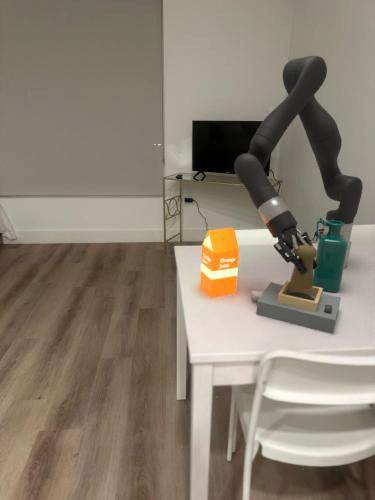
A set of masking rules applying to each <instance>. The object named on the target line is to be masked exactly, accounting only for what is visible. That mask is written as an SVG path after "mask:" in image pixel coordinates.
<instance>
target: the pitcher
mask: <svg viewBox="0 0 375 500" xmlns="http://www.w3.org/2000/svg"><path fill="white" fill-rule="evenodd" d="M319 224H321V225H322V226H323V227H325V226H327V227H329V229H328V233H324V232H323V233H320V231H319ZM344 225H345V223H343V222H341V221H335V220H330V221H327V222H325V219H323V218H322V217H317V218H316V236H317V238H318V239H317V244H316V251H317V254H316V257H315V258H314V259H315V260H316V262H317V264H318V267H317V268H315V269H313V286H315V287H320V288H323V290H322V292H329V293H337V292H339V291H340V290H341V284H342V278H343V273H344V269H345V268H344V264H345V258H346V253H347V248H348V243H347V239H346V237H345V236H343V235H341V227H342V226H344Z"/></svg>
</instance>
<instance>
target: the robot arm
mask: <svg viewBox="0 0 375 500" xmlns="http://www.w3.org/2000/svg"><path fill="white" fill-rule="evenodd" d="M327 74H328V67H327V63H326V60H325V59H324V58H323V57H322V56H319V55H309V56H303V57H298V58H293V59H290V60H289V61H288V62H287V63H285V65H284V67H283V70H282V82H283V83H282V84H283V86H284V89H285V90H286V93H287V96H286V97H285V99H284V100H283V101H282V102H281V103H279V104H278V105H277V106H276V107H275V108H274V109H273V110H272V111H271V112H270V113H268V115H267V116H266V117H264V119H263V120H262V122H261V124H260V125H259V127H258V128H257V130H256V132H255V133H254V134H253V136H252V138H251V140H250V145H249V150H248V151H247V153H246V152H245V153H242V154H240V155H239V156H237V158H235V161H234V162H233V163H234V164H233V165H234V166H233V169H234V172H235V173H234V174H235V175H236V177H237V180H238V181H239V182H240V183H242V184H243V185H244V187H245V190H246V191H247V192H248V195H249V197H250V200H251V202H252V203H253V205H254V207H255V208H256V209H257V211H258V213H259V216H260V218H261V219H262V221H263V223H264V225H265V226H266V228H267V230H268V231H269V233H270V234H271V237H272V238H273V239H274V238H275V239H277V240H278V241H277V242H276V243H274V244H273V248H274V249H275V251H277V252H278V254H279V255H280V256H281V258H282V259H283V260H284V261H285V262H286V264H287V263H292V264H293V265H294V267H295V266H296V268H297V270H298V271H299V272H300V274H301V275H303V274H305V273H307V272H308V269H307V267H306V266H305V264H304V262H303V261H302V259H300V256H299V254H298V246H300V245H310V246H313V247H314V245H313V243H312V241H311V238H310V236H309V234H308V232H307V231H304V232H300V231H299V230H298V229H297V226H298V221H297V220H296V218H295V217H294V216H293V213H292V211H290V209H289V207H288V206H287V204H286V203H285V202H284V199H282V197H280V195H279V193H278V192H277V190H276V188H275V187H274V185H273V184H272V183H271V181H270V180H269V178H268V176H267V173H266V172H265V168H266V166H267V163H268V161H269V159H270V157H271V156H272V153H273V152H274V150H275V149H276V147H277V145H278V144H279V142H280V141H281V139H282V137H283V135H284V134H285V132H287V129H289V126H290V125H291V124H292V123H293V121H294V120H295V118H296V117H297V116H299V119H300V122H301V124H302V126H303V129H304V132H305V135H306V137H307V140H308V143H309V145H310V148H311V150H312V152H313V155H314V157H315V161H316V163H317V167H318V169H319V173H320V176H321V180H322V184H323V188H324V192H325V195H326V197H328V198H329V199H330V200H333V201H336V202H339V205H338V207H337V209H331V210H329V211H327V212H326V215H325V219H324V221H325V222H327V221H330V220H335V221H341V222H343V223H345V225H344V226H342V227H341V235H343V236H345V237H346V239H347V243H348V248H347V253H346V258H345V264H344V269H345V268H346V267H348V262H349V257H350V253H351V247H352V242H351V238H352V237H351V236H352V230H353V224H354V221H355V217H356V216H357V213H358V210H359V206H360V202H361V198H362V195H363V190H364V189H363V181H362V180H361V179H360V178H359V177H357V176H353V175H348V174H347V175H346V174H343V173H342V172H341V169H340V168H339V164H338V157H339V155H340V152H341V148H342V143H343V142H342V137H341V133H340V131H339V127H338V124H337V122H336V120H335V119H334V118H333V116H332V115H331V114H330V113H329V112H328V111H327V110H326V109H325V108H324V107H323V106H322V105H321V104H320V103H319V102H318V100H317V98H316V96H315V94H317V92H318V91H319V90H320V88H321V87H322V86H323V84H324V83H325V80H326V78H327ZM323 227H324V228H323V233H328V229H329V227H327V226H323ZM317 267H318V264H317V262H316V260H315V258H314V259H313V269H315V268H317Z"/></svg>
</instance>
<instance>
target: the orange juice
mask: <svg viewBox="0 0 375 500" xmlns="http://www.w3.org/2000/svg"><path fill="white" fill-rule="evenodd" d="M200 255H201V256H200V257H201V258H200V284H199V287H200V289H201V290H202V291H203V292H204V293H205V294H206V295H207V296H208V297H209V298H210V299H211V298H217V297H221V296H222V297H223V296H228V295H232V294H233V295H234V294H236V293H237V284H238V283H237V282H238V272H239V271H238V269H239V268H238V267H239V257H240V247H239V244H238V240H237V236H236V231H235V228H234V227H230V228H221V229H220V228H219V229H210V230H209V229H208V230H207V233H206V235H205V238H204V240H203V242H202V244H201V254H200Z"/></svg>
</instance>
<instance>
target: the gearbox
mask: <svg viewBox="0 0 375 500" xmlns="http://www.w3.org/2000/svg"><path fill="white" fill-rule="evenodd" d="M322 290H323V288H320V287H315V286H313V287H312V288H310V289H300V288H296V287H294V286H292V285H291V284H290V280H286V281H285V283H284V284H280V283H275V282H272V281H271V282H270V283H269V284H268V285H267V287H266V288H265V289H264V292H262V291H258V290H254V289H253V290H252V291H251V293H250V300H254V301H257V302H256V303H257V304H256V310H255V313H256V315H259V316H261V317H266V318H269V319H273V320H277V321H282V322H285V323H288V324H289V323H290V324H293V325H295V326H296V325H297V326H300V327H305V328H310V329H312V330H315V331H320V332H324V333H328V334H331V335H333V334H334V330H335V326H336V321H337V318H338V312H339V308H340V303H341V299H342V298H341V297H340V296H337V295H331V294H327V293H323V291H322Z"/></svg>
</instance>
